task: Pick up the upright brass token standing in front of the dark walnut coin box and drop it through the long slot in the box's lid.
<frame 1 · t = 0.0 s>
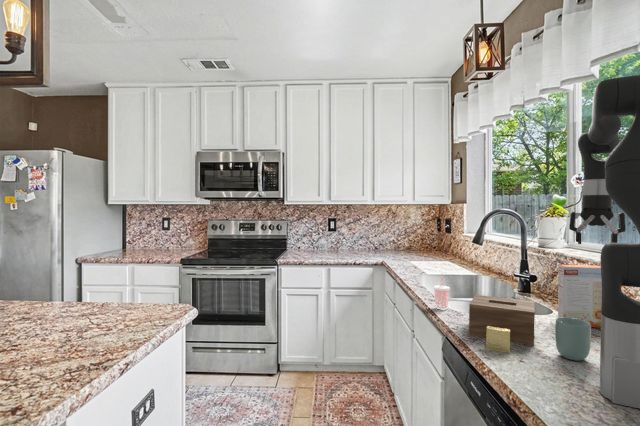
hand: (595, 244, 118), 29 cm above the counter, tool pointing down, fingers open, 8 cm apart
token: (498, 349, 106), on the counter
cup: (572, 358, 100), on the counter
beverage cup: (441, 309, 148), on the counter
cracker box: (582, 325, 130), on the counter
coin box: (501, 333, 120), on the counter
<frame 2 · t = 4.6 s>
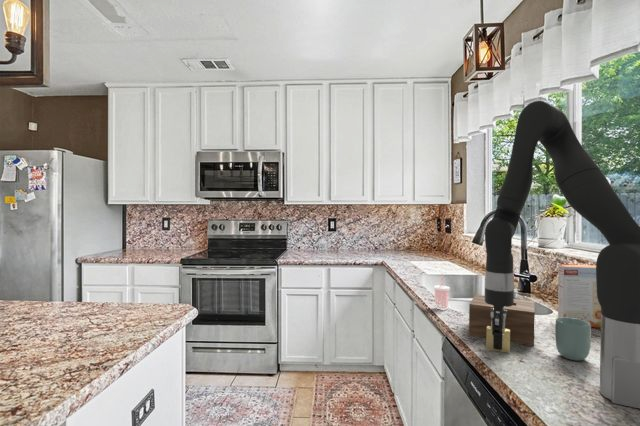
hand: (498, 346, 106), 1 cm above the counter, tool pointing down, fingers closed
token: (498, 349, 106), on the counter, touching gripper
everything else where it was.
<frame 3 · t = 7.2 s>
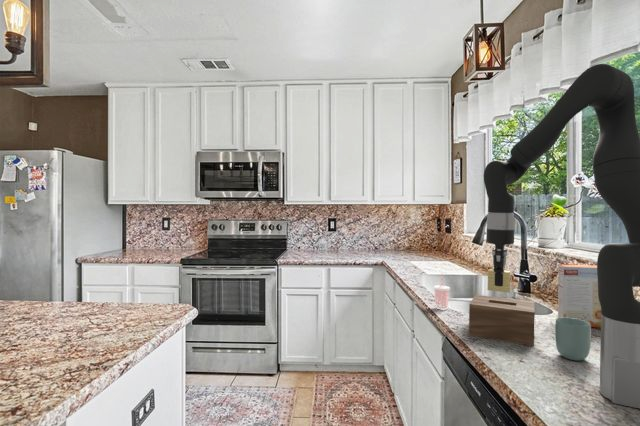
hand: (498, 284, 111), 18 cm above the counter, tool pointing down, fingers closed on token
token: (498, 290, 111), point 16 cm above the counter, touching gripper
everything else where it was.
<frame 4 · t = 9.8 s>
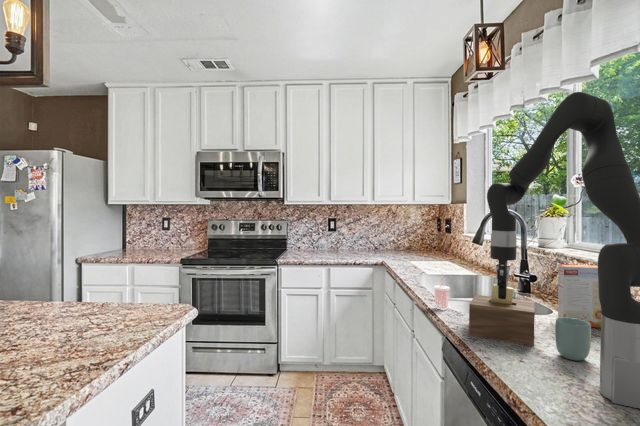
hand: (502, 297, 120), 12 cm above the counter, tool pointing down, fingers open, 3 cm apart
token: (500, 304, 120), point 9 cm above the counter, tilted 7°
everything else where it was.
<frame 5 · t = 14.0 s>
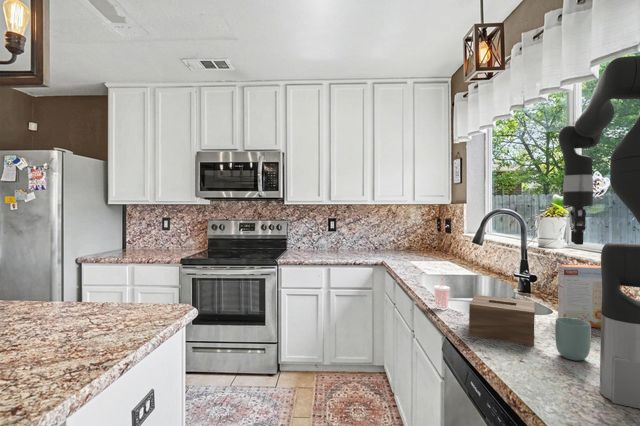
hand: (576, 243, 113), 30 cm above the counter, tool pointing down, fingers open, 8 cm apart
token: (500, 333, 120), resting in coin box
everything else where it was.
at the end: token inside the target area on the coin box (0.6 cm from its centre), point 0.0 cm above the coin box's base; the gripper is holding nothing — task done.
